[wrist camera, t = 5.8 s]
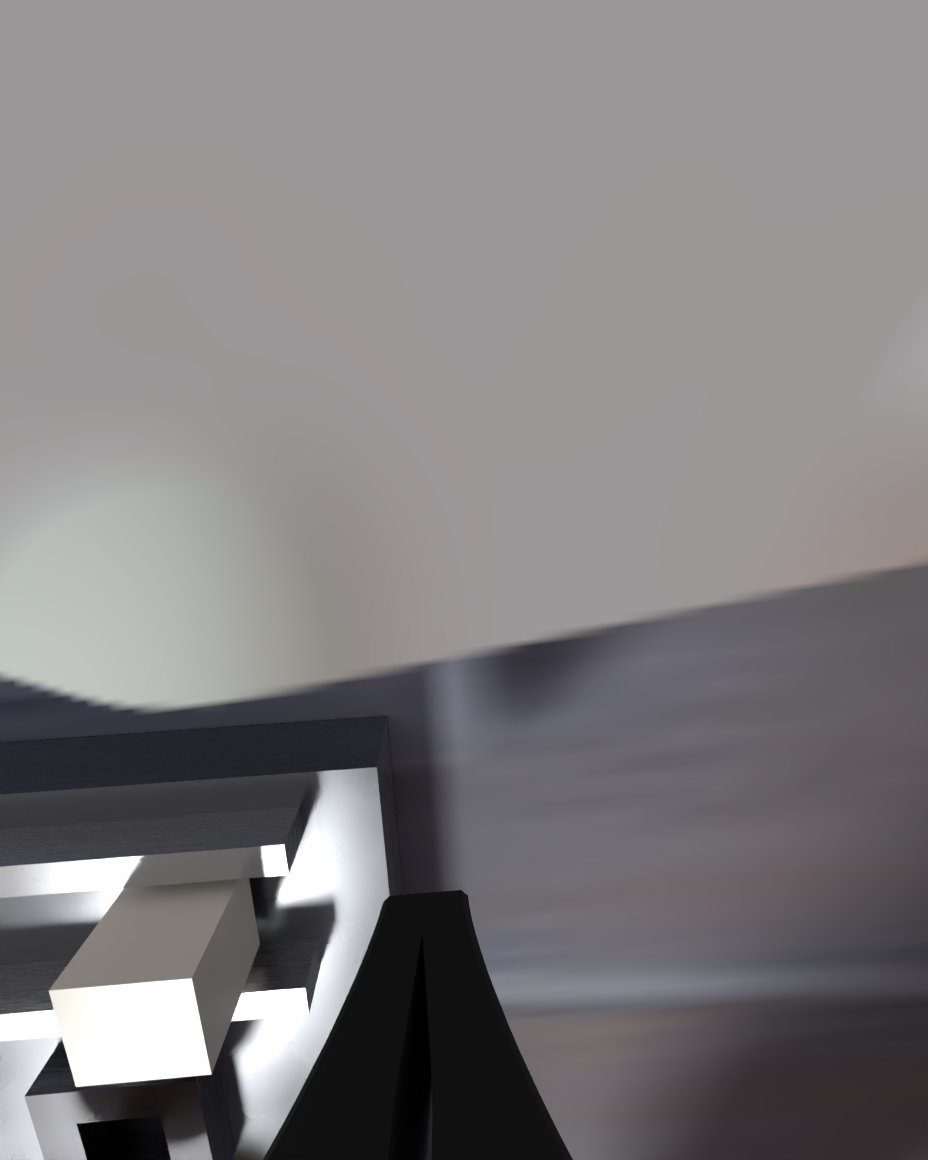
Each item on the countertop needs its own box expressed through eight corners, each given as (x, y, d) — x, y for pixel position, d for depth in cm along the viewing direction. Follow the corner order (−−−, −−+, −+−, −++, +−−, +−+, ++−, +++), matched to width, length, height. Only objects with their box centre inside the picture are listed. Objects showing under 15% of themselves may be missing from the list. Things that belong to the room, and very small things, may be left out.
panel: (436, 1247, 15) (434, 1431, 12) (51, 1287, 15) (-43, 1487, 12) (387, 716, 12) (370, 800, 9) (-128, 751, 11) (-326, 853, 8)
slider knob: (260, 943, 10) (211, 1074, 8) (153, 953, 10) (76, 1086, 8) (246, 863, 10) (191, 977, 8) (135, 872, 10) (48, 990, 7)
